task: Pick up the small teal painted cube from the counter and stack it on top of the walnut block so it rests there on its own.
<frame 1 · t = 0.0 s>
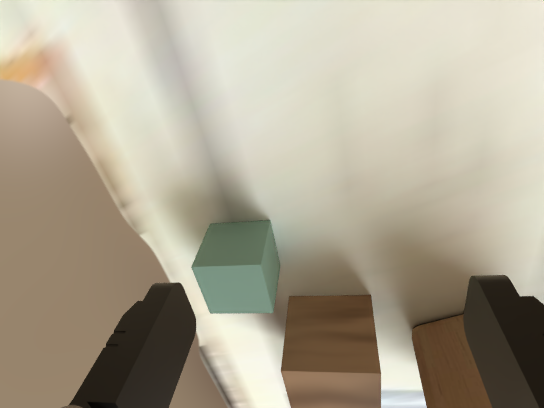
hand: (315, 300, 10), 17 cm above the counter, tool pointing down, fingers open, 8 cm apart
block: (472, 338, 36), on the counter
teal cube: (246, 245, 33), on the counter
walnut block: (332, 320, 37), on the counter
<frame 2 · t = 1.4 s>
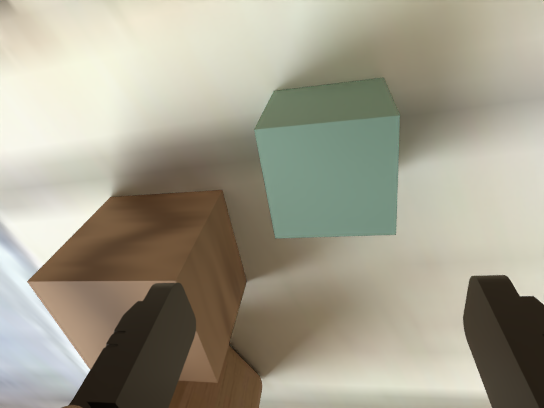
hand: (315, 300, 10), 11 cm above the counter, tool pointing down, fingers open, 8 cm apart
block: (196, 356, 34), on the counter
teal cube: (330, 134, 20), on the counter
walnut block: (182, 240, 25), on the counter
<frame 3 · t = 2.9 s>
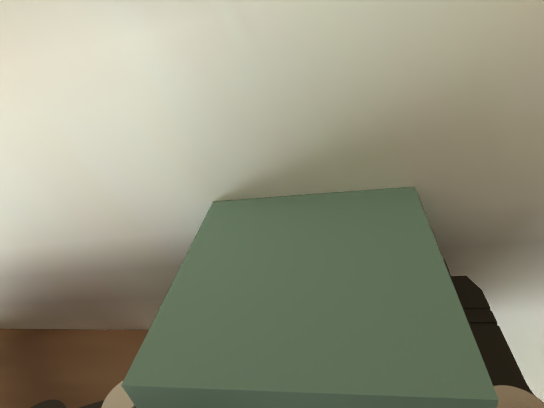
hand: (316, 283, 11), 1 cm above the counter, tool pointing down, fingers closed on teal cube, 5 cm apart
teal cube: (318, 269, 11), on the counter, touching gripper
walnut block: (102, 382, 17), on the counter
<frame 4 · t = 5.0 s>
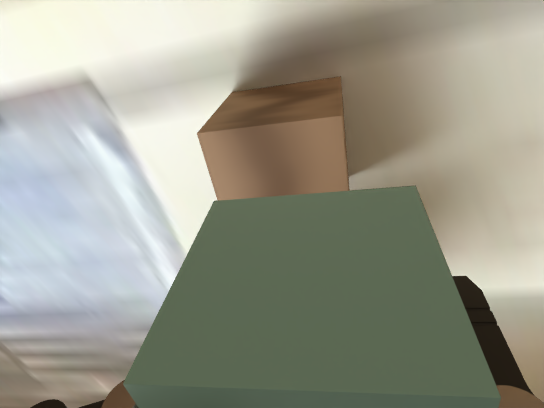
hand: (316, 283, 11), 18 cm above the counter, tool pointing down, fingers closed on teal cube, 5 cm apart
teal cube: (318, 268, 11), point 18 cm above the counter, touching gripper
walnut block: (292, 136, 28), on the counter
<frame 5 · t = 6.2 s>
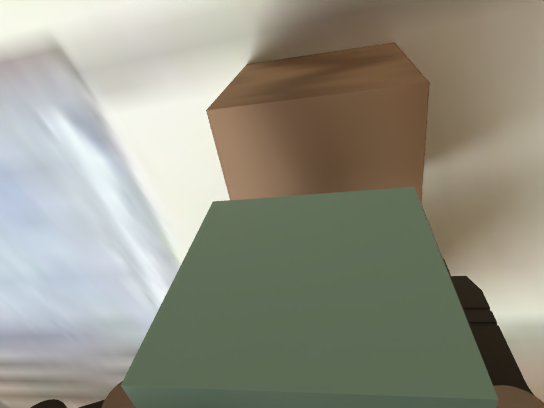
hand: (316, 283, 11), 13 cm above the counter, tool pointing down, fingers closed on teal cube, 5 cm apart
teal cube: (317, 269, 11), point 12 cm above the counter, touching gripper
walnut block: (323, 123, 22), on the counter
when the fingers open (9 cm above the counter, at t = 7.3 s): teal cube stays where it is, point 8 cm above the counter.
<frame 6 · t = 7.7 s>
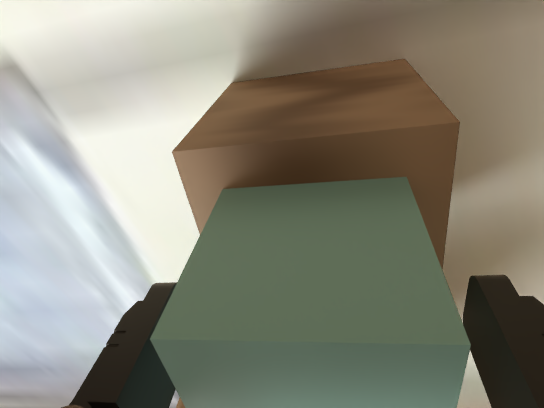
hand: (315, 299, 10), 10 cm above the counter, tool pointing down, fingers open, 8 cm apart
teal cube: (317, 253, 12), point 8 cm above the counter
walnut block: (321, 149, 19), on the counter
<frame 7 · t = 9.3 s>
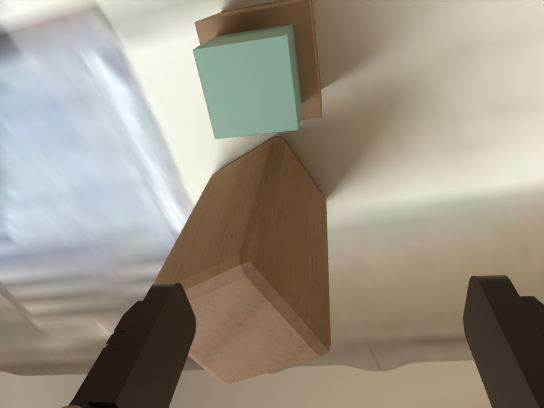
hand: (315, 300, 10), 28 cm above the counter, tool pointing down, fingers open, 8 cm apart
block: (269, 186, 41), on the counter
teal cube: (260, 71, 26), point 8 cm above the counter, touching walnut block
walnut block: (273, 52, 33), on the counter, touching teal cube
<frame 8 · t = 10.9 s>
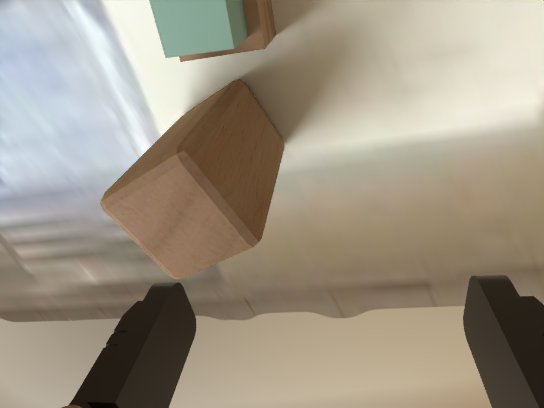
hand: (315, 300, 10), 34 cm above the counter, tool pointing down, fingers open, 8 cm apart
block: (233, 130, 45), on the counter
teal cube: (210, 6, 30), point 8 cm above the counter, touching walnut block
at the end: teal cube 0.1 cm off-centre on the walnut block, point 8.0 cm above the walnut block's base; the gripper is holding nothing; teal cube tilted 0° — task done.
